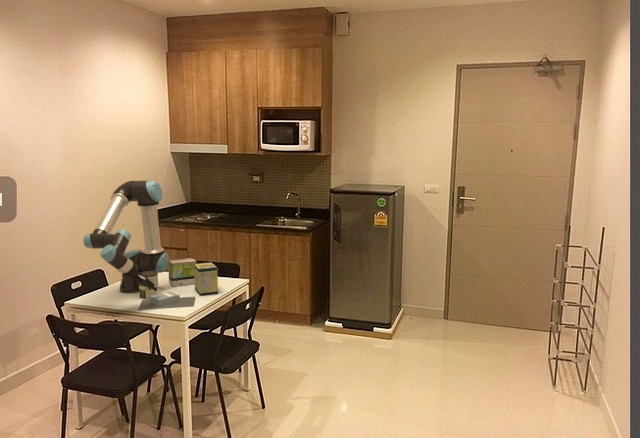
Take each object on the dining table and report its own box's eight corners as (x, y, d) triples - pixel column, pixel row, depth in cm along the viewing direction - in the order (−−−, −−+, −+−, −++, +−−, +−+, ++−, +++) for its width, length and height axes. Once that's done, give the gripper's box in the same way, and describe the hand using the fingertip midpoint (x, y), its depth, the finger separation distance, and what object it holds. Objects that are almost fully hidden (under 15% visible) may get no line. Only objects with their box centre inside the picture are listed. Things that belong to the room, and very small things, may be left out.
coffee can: (136, 300, 274) (135, 275, 272) (143, 294, 284) (142, 270, 282) (155, 300, 273) (153, 275, 271) (161, 294, 283) (160, 270, 282)
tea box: (172, 287, 299) (171, 263, 297) (168, 283, 308) (167, 260, 306) (197, 283, 307) (196, 260, 305) (192, 280, 315) (192, 257, 313)
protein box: (212, 287, 299) (211, 261, 297) (218, 294, 285) (217, 267, 283) (194, 289, 295) (193, 263, 293) (200, 296, 281) (199, 269, 279)
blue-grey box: (159, 299, 260) (179, 294, 269) (149, 296, 267) (169, 291, 276) (159, 306, 261) (179, 301, 269) (149, 302, 267) (169, 297, 276)
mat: (142, 300, 272) (142, 299, 272) (195, 297, 278) (195, 296, 278) (137, 311, 255) (137, 310, 255) (194, 307, 261) (194, 306, 260)
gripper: (116, 272, 254) (148, 296, 268) (129, 276, 245) (161, 301, 260) (126, 260, 257) (157, 285, 271) (138, 263, 248) (170, 289, 263)
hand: (159, 293), depth 265 cm, fingers closed
